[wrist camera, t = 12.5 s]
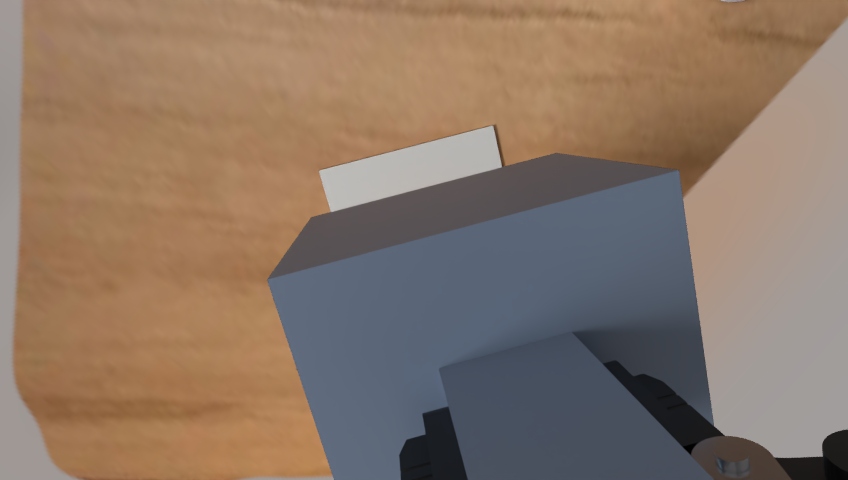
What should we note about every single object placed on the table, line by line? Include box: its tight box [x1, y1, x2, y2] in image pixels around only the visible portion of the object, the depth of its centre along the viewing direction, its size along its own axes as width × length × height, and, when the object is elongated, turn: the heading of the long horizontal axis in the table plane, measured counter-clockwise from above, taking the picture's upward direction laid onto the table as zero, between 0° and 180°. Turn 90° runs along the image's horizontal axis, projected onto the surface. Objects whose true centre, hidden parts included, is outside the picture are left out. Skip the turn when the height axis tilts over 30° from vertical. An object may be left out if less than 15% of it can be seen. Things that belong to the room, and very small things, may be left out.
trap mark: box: [319, 126, 502, 212], centre depth 36 cm, size 12×12×1 cm
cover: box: [267, 153, 714, 480], centre depth 15 cm, size 10×10×15 cm
